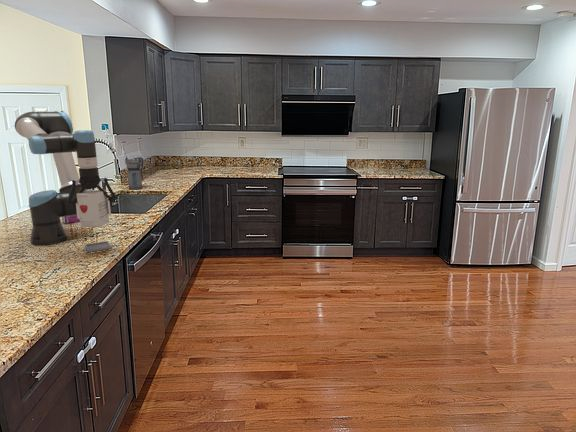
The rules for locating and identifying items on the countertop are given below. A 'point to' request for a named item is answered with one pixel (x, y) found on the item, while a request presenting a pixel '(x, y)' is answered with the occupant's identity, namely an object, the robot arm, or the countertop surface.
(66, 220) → the candy bar box
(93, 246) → the slate coaster
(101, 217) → the supplement box
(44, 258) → the countertop surface
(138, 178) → the gray tapered canister
